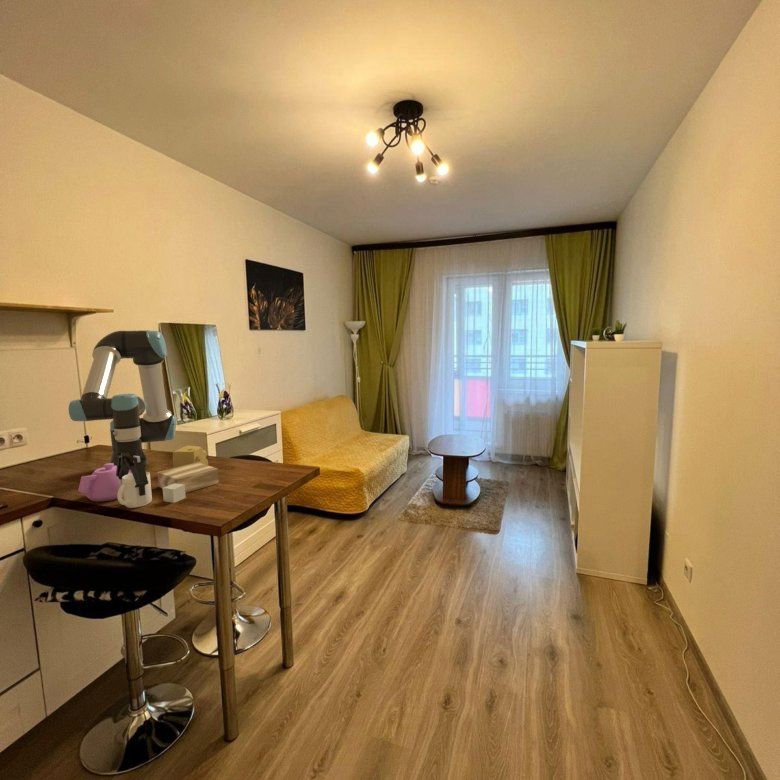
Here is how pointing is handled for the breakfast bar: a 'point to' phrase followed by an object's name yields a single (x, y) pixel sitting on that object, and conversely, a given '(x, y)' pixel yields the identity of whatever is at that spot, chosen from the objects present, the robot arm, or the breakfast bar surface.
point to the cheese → (189, 456)
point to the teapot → (101, 484)
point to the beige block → (174, 492)
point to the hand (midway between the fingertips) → (133, 500)
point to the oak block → (189, 476)
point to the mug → (132, 491)
